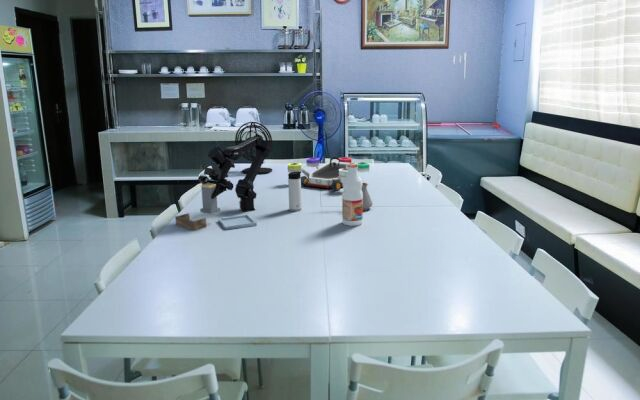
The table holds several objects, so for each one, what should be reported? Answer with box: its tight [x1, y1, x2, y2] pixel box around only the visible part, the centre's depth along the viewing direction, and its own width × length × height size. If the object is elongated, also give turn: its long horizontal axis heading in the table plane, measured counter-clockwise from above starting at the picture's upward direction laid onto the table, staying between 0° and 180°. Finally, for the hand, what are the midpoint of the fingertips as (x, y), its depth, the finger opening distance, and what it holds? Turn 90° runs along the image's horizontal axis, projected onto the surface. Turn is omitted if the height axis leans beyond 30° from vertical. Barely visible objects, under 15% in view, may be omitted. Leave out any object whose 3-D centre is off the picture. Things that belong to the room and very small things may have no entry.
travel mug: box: [287, 171, 302, 212], centre depth 261 cm, size 6×7×20 cm
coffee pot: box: [331, 179, 374, 211], centre depth 263 cm, size 21×12×15 cm, turn 79°
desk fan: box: [234, 121, 273, 175], centre depth 352 cm, size 27×18×35 cm, turn 74°
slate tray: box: [217, 214, 258, 231], centre depth 243 cm, size 15×15×2 cm
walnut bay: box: [174, 213, 207, 231], centre depth 240 cm, size 7×14×4 cm, turn 49°
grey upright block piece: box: [199, 183, 221, 215], centre depth 242 cm, size 6×7×13 cm
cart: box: [287, 156, 370, 192], centre depth 319 cm, size 45×39×16 cm
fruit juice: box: [341, 162, 364, 227], centre depth 237 cm, size 9×9×28 cm
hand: (207, 197), depth 241 cm, fingers closed on grey upright block piece, 5 cm apart
